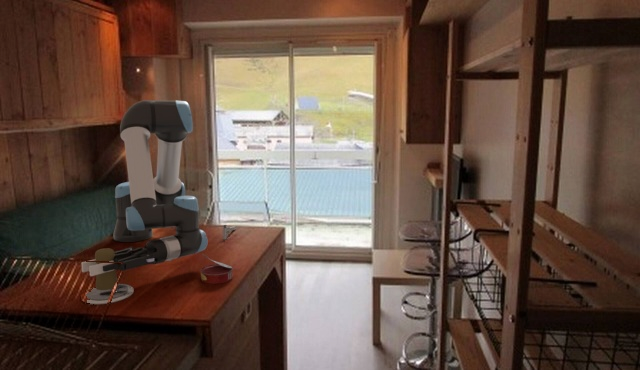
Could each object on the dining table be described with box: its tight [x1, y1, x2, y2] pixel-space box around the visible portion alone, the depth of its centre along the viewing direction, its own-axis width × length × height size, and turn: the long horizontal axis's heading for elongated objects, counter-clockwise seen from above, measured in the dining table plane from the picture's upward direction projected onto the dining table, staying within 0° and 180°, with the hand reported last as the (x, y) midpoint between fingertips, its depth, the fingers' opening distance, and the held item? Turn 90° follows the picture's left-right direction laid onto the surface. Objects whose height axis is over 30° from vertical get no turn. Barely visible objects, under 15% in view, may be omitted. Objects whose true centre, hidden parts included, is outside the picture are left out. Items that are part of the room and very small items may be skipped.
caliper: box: [222, 224, 238, 241], centre depth 200 cm, size 20×1×6 cm, turn 177°
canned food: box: [200, 253, 234, 284], centre depth 148 cm, size 11×10×10 cm
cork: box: [94, 247, 119, 290], centre depth 133 cm, size 6×6×11 cm
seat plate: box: [86, 283, 135, 306], centre depth 134 cm, size 14×14×1 cm
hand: (86, 269), depth 129 cm, fingers closed on cork, 4 cm apart
